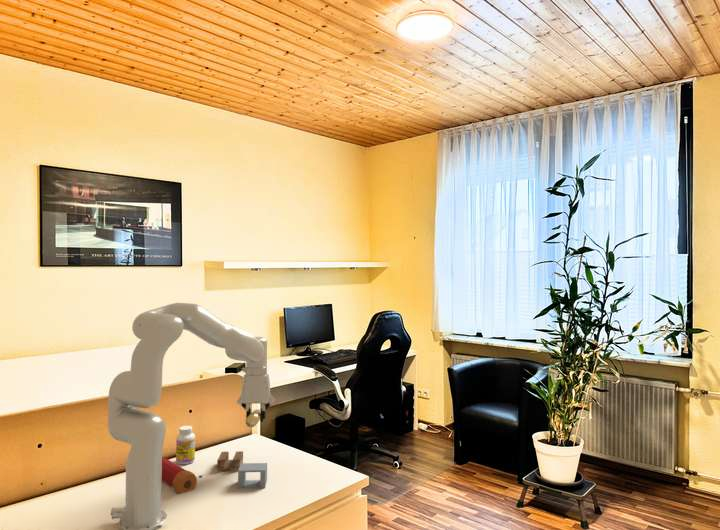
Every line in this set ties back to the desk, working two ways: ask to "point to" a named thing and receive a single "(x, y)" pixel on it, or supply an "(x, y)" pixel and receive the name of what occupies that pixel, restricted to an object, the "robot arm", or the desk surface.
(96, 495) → the desk surface
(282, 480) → the desk surface
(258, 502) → the desk surface
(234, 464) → the v block
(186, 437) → the supplement bottle
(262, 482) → the grey hollow block
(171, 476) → the shell casing
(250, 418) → the axle
